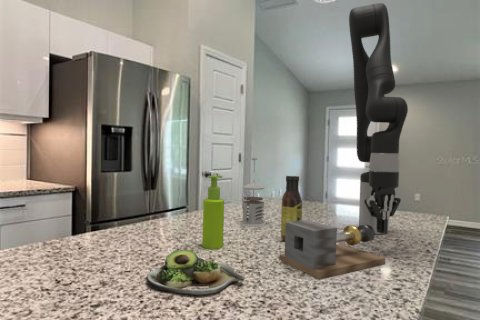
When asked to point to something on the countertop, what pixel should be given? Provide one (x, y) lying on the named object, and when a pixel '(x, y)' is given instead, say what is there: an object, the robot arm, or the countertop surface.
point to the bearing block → (322, 251)
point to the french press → (253, 206)
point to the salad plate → (191, 274)
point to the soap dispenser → (213, 217)
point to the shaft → (356, 234)
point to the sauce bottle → (291, 203)
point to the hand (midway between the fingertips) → (381, 232)
